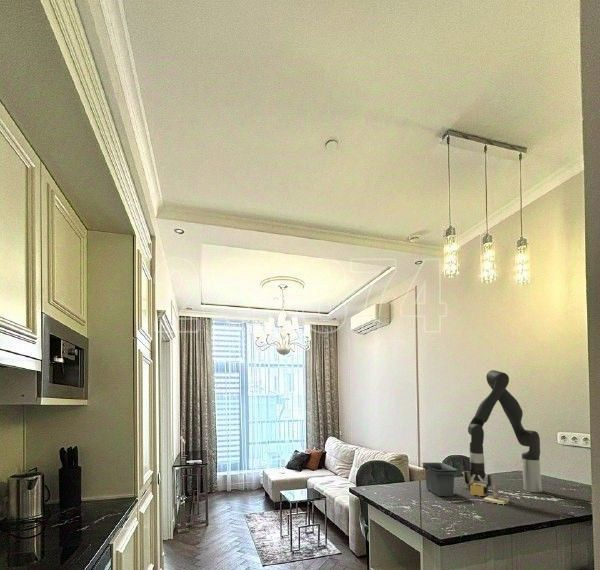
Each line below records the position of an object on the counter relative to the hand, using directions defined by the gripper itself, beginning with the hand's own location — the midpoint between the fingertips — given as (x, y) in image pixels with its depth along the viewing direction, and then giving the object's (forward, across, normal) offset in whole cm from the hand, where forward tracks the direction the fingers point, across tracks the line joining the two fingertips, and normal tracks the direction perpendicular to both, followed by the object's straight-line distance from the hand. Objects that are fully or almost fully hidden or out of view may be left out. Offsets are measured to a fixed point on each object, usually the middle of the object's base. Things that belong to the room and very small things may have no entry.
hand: (478, 493), depth 263 cm
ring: (+1, 0, 0) cm, 1 cm away
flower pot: (+1, +8, -12) cm, 14 cm away
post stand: (+1, -12, +9) cm, 15 cm away
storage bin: (+1, +18, +12) cm, 22 cm away
